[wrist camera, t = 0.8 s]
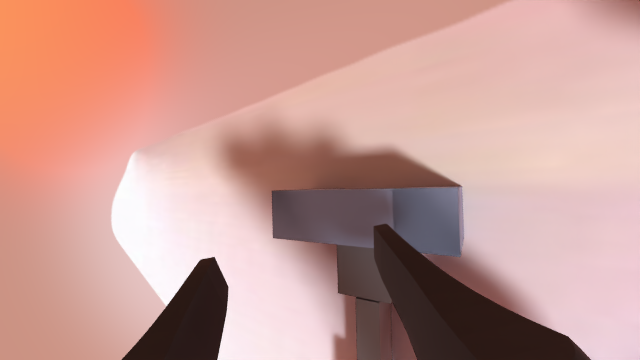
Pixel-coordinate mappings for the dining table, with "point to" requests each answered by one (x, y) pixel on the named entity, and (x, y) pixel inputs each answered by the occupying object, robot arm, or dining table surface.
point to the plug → (366, 301)
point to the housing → (372, 216)
